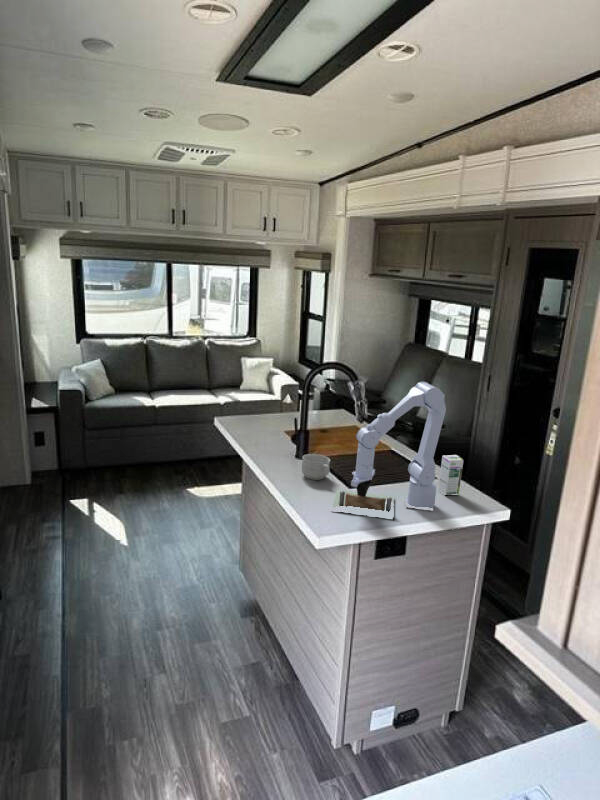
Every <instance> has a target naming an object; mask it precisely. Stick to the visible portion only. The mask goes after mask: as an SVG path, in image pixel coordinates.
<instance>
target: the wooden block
mask: <svg viewBox="0 0 600 800" xmlns="http://www.w3.org/2000/svg"><path fill="white" fill-rule="evenodd" d="M385 502H386V499H385V498H382V499H381V498H374V497H367V496H359V495H352V494H349V493H346V497H345V506H353V507H360V508H368V509H375V510H382V511H384V510H385Z"/></svg>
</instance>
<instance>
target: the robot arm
mask: <svg viewBox="0 0 600 800" xmlns="http://www.w3.org/2000/svg"><path fill="white" fill-rule="evenodd" d="M445 397H446V395H445V394H444V393H443V391H442V390H441V389H440V388H438V387H435V386H433V385H432V384H429V383H428V382H426V381H419V382H417V384H416V385H415V386H413V387H411V388H410V390H409V392H408V393H407V394H406V395H405V396H404V397H403V398H402V399H401V400H400V401H399V402H398V403H397V404H396V405H395V406H394V407H393V408H392V409H391V410H390V411H388V412H383V413H379V414H378V415H377V418H374V419H373V421H372V422H371V423H369V424H367V425H366V426H364V427H362V428H360V429H359V430H358V431H357V433H356V434H355V437H356V440H357V442H358V443H357V444H358V445H357V453H356V465H355V471H354V470H353V472H351V474H352V475H353V478H352V480H351V482H350V486H351V487H354V488H355V489H356V492H357V495H359V496H366V493H368V490H369V488H370V487H371V485H372V484H373V480H372V479H373V477H374V476H375V474H376V469H374V463H375V462H374V461H375V452H376V451H375V449H376V447H377V446H378V445H379V442H380V439H381V438H382V437H383V436H385V434H387V433H388V432H389V431H390V430H391V429H392V428H395V424H396V421H397V420H398V419H399V418H400V417H401V416H404V414H405V413H407V412H408V411H410V410H411V409H413V408H414V407H425V408H426V409H427V411H428V414H427V417H426V421H425V424H424V429H423V432H422V437H421V440H420V444H419V448H418V452H417V453H416V454H415V455H413V457H412V459H411V461H410V463H409V464H408V466H407V467H408V468H407V471H408V473H409V474H410V476H409V483H408V490H407V491H408V493H407V497H406V498H405V501H406V500H407V503H408V504H409V505H411V506H415V507H429V508H435V504H436V503H435V502H436V494H437V484H436V483H434V481H435V479H436V467H437V466H436V463H435V459H434V456H435V453H436V451H437V450H436V449H437V445H438V442H439V438H440V433H441V430H442V426H443V423H444V419H445V416H446V412H447V408H446V407H447V406H446V403H445Z"/></svg>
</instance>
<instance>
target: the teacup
mask: <svg viewBox="0 0 600 800" xmlns="http://www.w3.org/2000/svg"><path fill="white" fill-rule="evenodd" d="M301 460H302V461H301V472H302V474H303V475H304V476H305V477H306V479H310V480H314V481H320V480H323V479H324V478H326V477H327V476H328V475H329V474H330V471H331V470H330V469H331V468H330V464H331V458H329V457H328V456H326V455H322V454H316V453H311V454H310V453H308V454H304V455H302V459H301Z"/></svg>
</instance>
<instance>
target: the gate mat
mask: <svg viewBox="0 0 600 800" xmlns="http://www.w3.org/2000/svg"><path fill="white" fill-rule="evenodd" d="M340 491H344V492H345V496H344V506H345V497H346V493H349V494H352V495H357V491H352V490H344V489H338V488H337V489H336V491H335V496H334V500H333V504H332V507H334V508H335V507H336V506H337V507H338V505H339V499H340ZM366 496H367V497H374V498H381V499H382V498H385V499H386V500H387V498H388V497H390V498H392V501H393V500H394V499H396V498H395V496H391V495H390V496H388V495H383V494H382V495H381V494H373V493H368V492H367V493H366ZM339 507H340V506H339ZM346 507H347V506H346Z"/></svg>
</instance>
